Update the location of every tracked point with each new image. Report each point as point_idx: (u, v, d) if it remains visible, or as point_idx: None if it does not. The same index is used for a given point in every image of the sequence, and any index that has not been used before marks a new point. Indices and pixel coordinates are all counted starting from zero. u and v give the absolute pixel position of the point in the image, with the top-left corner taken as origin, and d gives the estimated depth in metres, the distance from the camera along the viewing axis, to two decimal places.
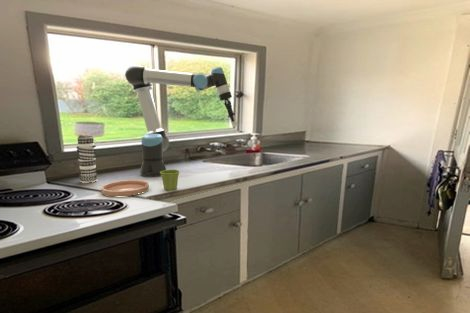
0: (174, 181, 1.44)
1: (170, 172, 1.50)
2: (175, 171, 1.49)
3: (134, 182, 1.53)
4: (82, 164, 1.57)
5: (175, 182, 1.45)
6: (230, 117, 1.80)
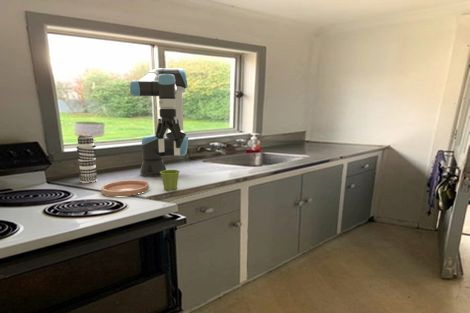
0: (174, 181, 1.44)
1: (170, 172, 1.50)
2: (175, 171, 1.49)
3: (134, 182, 1.53)
4: (82, 164, 1.57)
5: (175, 182, 1.45)
6: None
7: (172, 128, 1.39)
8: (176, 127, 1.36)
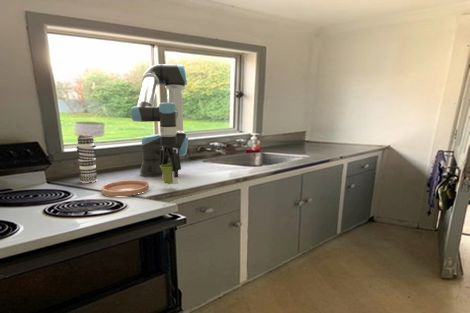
0: None
1: (170, 166, 1.50)
2: None
3: (134, 182, 1.53)
4: (82, 164, 1.57)
5: None
6: None
7: (172, 157, 1.42)
8: (176, 157, 1.40)
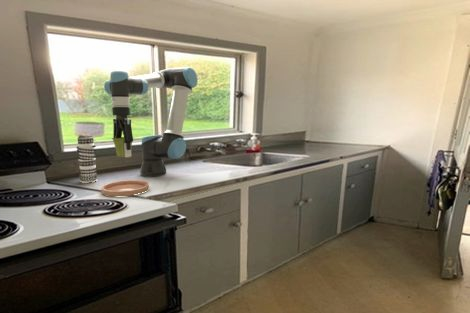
0: None
1: (124, 139, 1.44)
2: None
3: (134, 182, 1.53)
4: (82, 164, 1.57)
5: None
6: None
7: (124, 128, 1.36)
8: (127, 128, 1.34)
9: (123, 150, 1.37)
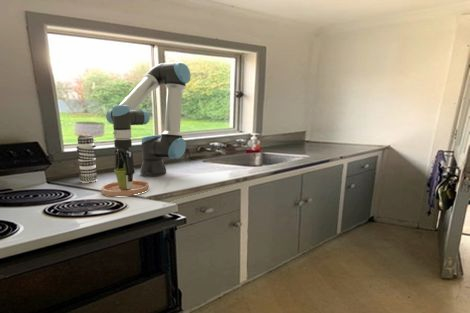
0: None
1: None
2: None
3: (134, 182, 1.53)
4: (82, 164, 1.57)
5: None
6: None
7: (126, 160, 1.39)
8: (129, 160, 1.36)
9: (125, 182, 1.40)
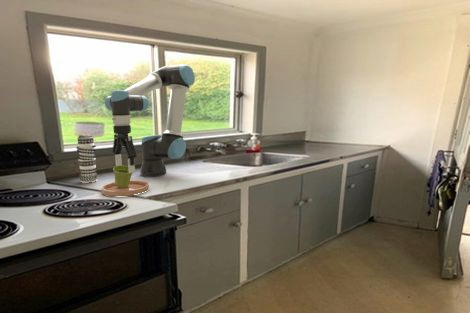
0: (126, 180, 1.43)
1: (125, 168, 1.48)
2: None
3: (134, 182, 1.53)
4: (82, 164, 1.57)
5: (127, 181, 1.43)
6: None
7: (126, 145, 1.37)
8: (129, 144, 1.35)
9: (122, 182, 1.42)
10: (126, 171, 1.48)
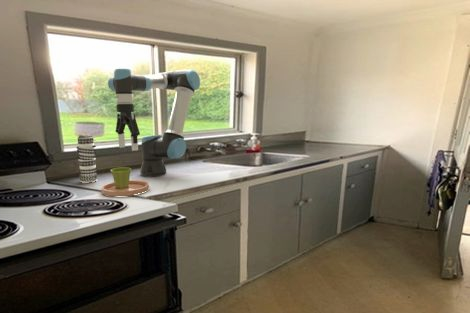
0: (125, 179, 1.43)
1: (122, 170, 1.49)
2: (127, 169, 1.48)
3: (134, 182, 1.53)
4: (82, 164, 1.57)
5: (126, 180, 1.44)
6: None
7: (129, 123, 1.38)
8: (133, 122, 1.35)
9: (121, 182, 1.43)
10: None
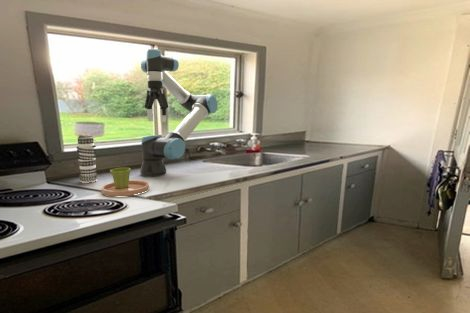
0: (125, 179, 1.43)
1: (121, 170, 1.49)
2: (126, 169, 1.49)
3: (134, 182, 1.53)
4: (82, 164, 1.57)
5: (126, 180, 1.44)
6: None
7: (159, 98, 1.56)
8: (162, 96, 1.53)
9: (122, 182, 1.43)
10: None
